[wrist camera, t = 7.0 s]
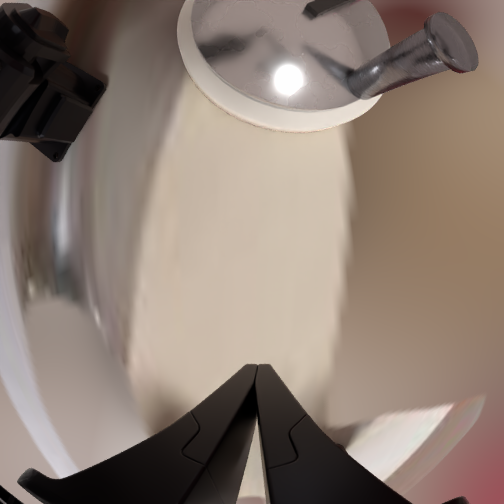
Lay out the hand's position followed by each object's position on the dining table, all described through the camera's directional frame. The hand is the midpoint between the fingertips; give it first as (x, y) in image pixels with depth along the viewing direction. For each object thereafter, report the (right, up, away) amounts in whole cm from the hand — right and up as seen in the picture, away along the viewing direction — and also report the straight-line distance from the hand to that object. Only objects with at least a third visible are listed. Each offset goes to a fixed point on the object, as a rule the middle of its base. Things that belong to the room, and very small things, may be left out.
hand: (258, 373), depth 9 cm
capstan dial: (+3, +18, +4) cm, 19 cm away
